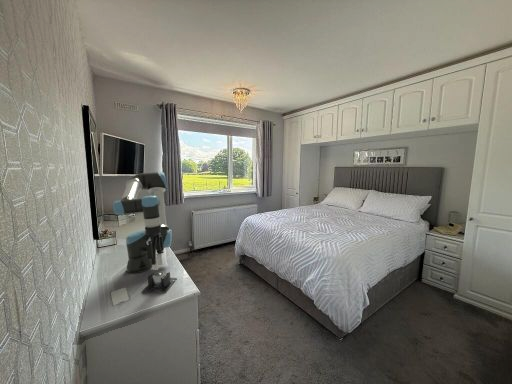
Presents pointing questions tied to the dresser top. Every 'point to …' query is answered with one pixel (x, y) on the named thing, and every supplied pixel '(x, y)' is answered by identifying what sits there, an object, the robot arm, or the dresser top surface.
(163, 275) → the cap
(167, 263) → the dresser top surface
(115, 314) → the dresser top surface
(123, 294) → the smartphone
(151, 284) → the dark grey holder
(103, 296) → the dresser top surface
